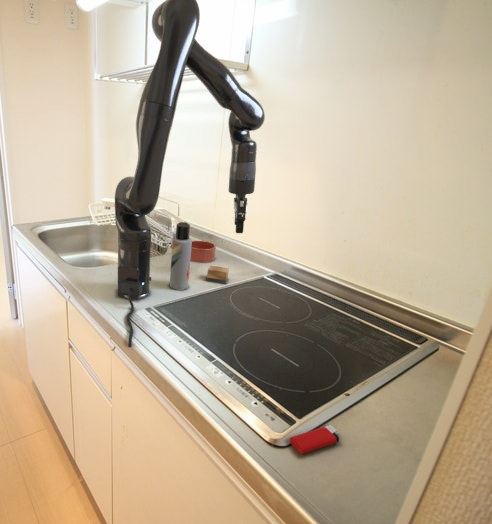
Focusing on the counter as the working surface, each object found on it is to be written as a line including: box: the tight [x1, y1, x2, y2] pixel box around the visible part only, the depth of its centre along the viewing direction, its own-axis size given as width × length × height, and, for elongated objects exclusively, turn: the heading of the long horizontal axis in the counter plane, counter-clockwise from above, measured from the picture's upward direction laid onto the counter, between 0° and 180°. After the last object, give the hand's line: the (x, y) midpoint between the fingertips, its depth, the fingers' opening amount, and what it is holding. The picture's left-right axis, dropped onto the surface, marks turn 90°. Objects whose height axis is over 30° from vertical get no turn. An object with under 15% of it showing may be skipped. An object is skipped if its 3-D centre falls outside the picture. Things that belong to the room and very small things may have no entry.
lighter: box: [289, 424, 340, 455], centre depth 57 cm, size 3×1×8 cm
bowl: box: [190, 240, 217, 263], centre depth 136 cm, size 11×11×5 cm
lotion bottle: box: [169, 221, 193, 291], centre depth 108 cm, size 6×6×20 cm
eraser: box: [206, 264, 230, 285], centre depth 116 cm, size 6×4×4 cm, turn 68°
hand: (238, 228), depth 114 cm, fingers open, 8 cm apart
